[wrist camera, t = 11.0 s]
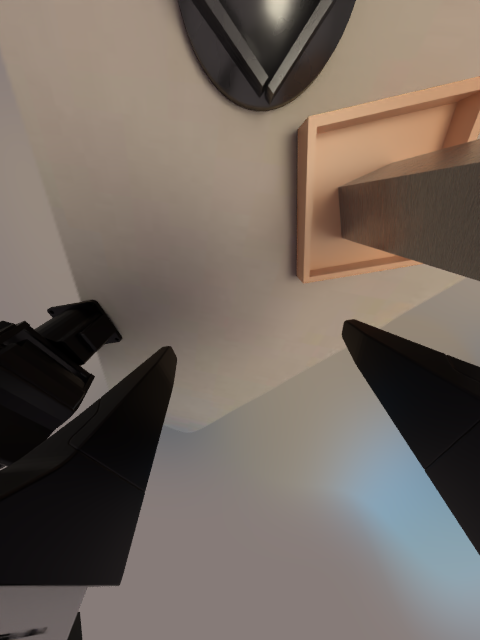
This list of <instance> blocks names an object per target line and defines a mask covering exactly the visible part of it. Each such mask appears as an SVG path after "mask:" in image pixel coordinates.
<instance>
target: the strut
mask: <svg viewBox="0 0 480 640" xmlns="http://www.w3.org/2000/svg"><path fill="white" fill-rule="evenodd" d="M338 193H339V207H340V221H341V235H342V238H343V239H346V240H349V241H353V242H356V243H359V244H362V245H365V246H369V247H372V248H375V249H378V250H382V251H385V252H388V253H391V254H394V255H398V256H401V257H404V258H407V259H410V260H414V261H417V262H420V263H423V264H427V265H430V266H433V267H436V268H439V269H443V270H446V271H449V272H452V273H455V274H459V275H462V276H465V277H468V278H472V279H475V280H478V281H480V139H478V140H474V141H470V142H467V143H463V144H459V145H456V146H452V147H448V148H445V149H441V150H437V151H434V152H430V153H426V154H423V155H419V156H415V157H411V158H408V159H404V160H400V161H397V162H393V163H391V164H389V165H386V166H384V167H382V168H380V169H377V170H375V171H373V172H371V173H369V174H366V175H364V176H362V177H360V178H357V179H355V180H353V181H351V182H348V183H346V184H344V185H342V186H340V187H338Z"/></svg>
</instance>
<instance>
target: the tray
mask: <svg viewBox="0 0 480 640" xmlns="http://www.w3.org/2000/svg"><path fill="white" fill-rule="evenodd" d="M479 132H480V76H479V77H475V78H470V79H466V80H462V81H458V82H453V83H449V84H445V85H441V86H436V87H432V88H428V89H423V90H419V91H415V92H411V93H406V94H402V95H398V96H394V97H389V98H385V99H381V100H377V101H372V102H368V103H364V104H360V105H355V106H351V107H347V108H343V109H338V110H334V111H330V112H326V113H321V114H317V115H313V116H309V117H308V118H307V119H306V120H305V121H304V123H303V124H302V125H301V126H300V128H299V129H298V163H297V277H298V278H299V279H300V280H301V281H302V282H303V283H309V282H316V281H322V280H328V279H334V278H340V277H346V276H352V275H358V274H364V273H370V272H376V271H382V270H388V269H395V268H401V267H407V266H413V265H419V264H423V263H420V262H417V261H414V260H410V259H407V258H404V257H401V256H398V255H394V254H391V253H388V252H385V251H382V250H378V249H375V248H372V247H369V246H365V245H362V244H359V243H356V242H353V241H349V240H346V239H343V238H342V235H341V221H340V207H339V193H338V187H340V186H342V185H344V184H346V183H348V182H351V181H353V180H355V179H357V178H360V177H362V176H364V175H366V174H369V173H371V172H373V171H375V170H377V169H380V168H382V167H384V166H386V165H389V164H391V163H393V162H397V161H400V160H404V159H408V158H411V157H415V156H419V155H423V154H426V153H430V152H434V151H437V150H441V149H445V148H448V147H452V146H456V145H459V144H463V143H467V142H470V141H474V140H477V137H478V135H479Z"/></svg>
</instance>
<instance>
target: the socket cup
mask: <svg viewBox="0 0 480 640" xmlns="http://www.w3.org/2000/svg"><path fill="white" fill-rule="evenodd" d="M355 1H356V0H178V2H179V6H180V10H181V14H182V18H183V21H184V25H185V28H186V31H187V34H188V37H189V40H190V42H191V45H192V47H193V49H194V52H195V54H196V56H197V58H198V60H199V62H200V64H201V66H202V68H203V70H204V71H205V73H206V74H207V76H208V77H209V79H210V80H211V82H212V83H213V84H214V85H215V86H216V87H217V89H218V90H219V91H220V92H221V93H222V94H223V95H225V96H226V97H227V98H228V99H229V100H231V101H232V102H234V103H235V104H237V105H239V106H241V107H244V108H246V109H250V110H255V111H267V110H273V109H277V108H279V107H282V106H284V105H286V104H288V103H290V102H291V101H293V100H294V99H296V98H297V97H298V96H299V95H301V94H302V93H303V92H304V91H305V90H306V89H307V88H308V87H309V86H310V85H311V84H312V83H313V81H314V80H315V79H316V77H317V76H318V75H319V74H320V72H321V71H322V69H323V68H324V66H325V64H326V63H327V61H328V60H329V58H330V57H331V55H332V53H333V52H334V50H335V48H336V46H337V44H338V42H339V40H340V39H341V37H342V35H343V32H344V30H345V28H346V25H347V23H348V21H349V18H350V16H351V13H352V10H353V7H354V4H355Z"/></svg>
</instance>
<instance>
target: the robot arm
mask: <svg viewBox="0 0 480 640" xmlns="http://www.w3.org/2000/svg"><path fill="white" fill-rule="evenodd" d="M93 304H94V305H93ZM47 311H48V313H49V314H50V315H51V316H52V317H53V318H52V319H50V320H49V321H47V322H46V323H44V324H42V325H41V326H39V327H38V328H36V329H33V328H31V327H30V325H29V324H28V323H27V322H26V321H23V322H21V323H18V324H16V325H15V324H14V323H9V322H5V321H1V322H0V469H1V468H3V467H5V466H8V467H6V468H4V469H2V470H0V640H82V631H81V621H80V620H81V619H80V612H78V610H79V608H80V605H81V603H82V600H83V597H84V595H85V592H86V590H87V587H99V586H119V585H120V583H121V580H122V576H123V573H124V569H125V566H126V562H127V558H128V554H129V550H130V547H131V543H132V539H133V536H134V532H135V528H136V524H137V521H138V517H139V513H140V510H141V506H142V502H143V498H144V495H145V490H146V487H147V482H148V479H149V475H150V472H151V468H152V464H153V460H154V457H155V453H156V449H157V445H158V441H159V438H160V434H161V430H162V427H163V423H164V419H165V415H166V412H167V408H168V404H169V400H170V397H171V393H172V389H173V384H174V378H175V371H176V365H177V357H176V355H175V353H174V351H173V349H172V347H171V346H166V347H162V348H161V349H159V350H158V351H157V352H156V353H155V354H153V355H152V356H151V357H150V358H148V359H147V360H146V361H145V362H144V363H142V364H141V365H140V366H139V367H137V368H136V369H135V370H134V371H133V372H131V373H130V374H129V375H128V376H126V377H125V378H124V379H123V380H122V381H120V382H119V383H118V384H117V385H115V386H114V387H113V388H112V389H111V390H109V391H108V392H107V393H106V394H105V395H103V396H102V397H101V399H98V400H97V401H96V402H95V403H93V405H91V406H90V407H89V408H87V409H86V410H85V411H84V412H82V413H81V414H80V415H79V416H77V417H76V418H75V419H73V420H72V421H71V422H69V423H68V424H67V425H65V426H64V427H63V428H61V429H60V430H59V431H57V432H56V433H55V434H53V435H52V436H51V437H49V436H50V435H51V434H52V432H53V431H54V430H55V429H56V428H58V427H59V426H60V425H62V424H63V423H64V422H65V421H66V420H68V419H69V418H70V417H71V416H72V415H73V414H74V412H75V411H76V410H77V409H78V408H79V406H80V404H81V403H82V401H83V398H84V397H85V395H86V393H87V391H88V389H89V387H90V385H91V383H92V381H93V379H94V377H95V376H94V375H92V374H90V373H88V372H87V371H86V370H85V369H83V368H82V367H81V365H83V364H85V363H86V362H87V361H88V360H89V358H90V357H91V356H92V355H93V354H94V353H95V352H97V351H98V350H99V349H100V348H101V347H102V346H103V345H104V344H108V343H115V342H120V341H121V340H122V337H121V335H120V334H119V332H118V331H117V330H116V328H115V327H114V325H113V324H112V322H111V321H110V320H109V318H108V317H107V315H106V314H105V312H104V311H103V309H102V308H101V307H100V305H99V304H98V302H96V301H94V300H90V301H84V302H79V303H73V304H67V305H62V306H56V307H51V308H49V309H48V310H47ZM342 338H343V340H344V342H345V344H346V346H347V348H348V350H349V352H350V354H351V356H352V358H353V360H354V362H355V364H356V365H357V367H358V369H359V370H360V372H361V373H362V374H363V376H364V378H365V379H366V381H367V382H368V384H369V385H370V387H371V388H372V390H373V392H374V393H375V394H376V396H377V398H378V399H379V401H380V402H381V404H382V405H383V407H384V409H385V410H386V412H387V413H388V415H389V416H390V418H391V419H392V421H393V422H394V424H395V425H396V427H397V428H398V430H399V431H400V433H401V435H402V436H403V438H404V439H405V441H406V442H407V444H408V445H409V447H410V449H411V450H412V451H413V453H414V455H415V456H416V458H417V459H418V461H419V462H420V464H421V465H422V467H423V468H424V469H425V472H426V473H427V475H428V477H429V478H430V480H431V481H432V483H433V484H434V486H435V487H436V489H437V490H438V492H439V493H440V495H441V497H442V498H443V500H444V501H445V503H446V504H447V506H448V507H449V509H450V510H451V512H452V513H453V515H454V516H455V518H456V519H457V521H458V523H459V524H460V526H461V527H462V529H463V530H464V532H465V533H466V535H467V536H468V538H469V540H470V541H471V543H472V544H473V546H474V547H475V549H476V550H477V552H478V553H479V555H480V367H478V366H475V365H473V364H470V363H467V362H465V361H462V360H459V359H457V358H454V357H451V356H449V355H445V354H444V353H441V352H438V351H436V350H433V349H430V348H428V347H425V346H423V345H420V344H418V343H415V342H412V341H410V340H407V339H404V338H402V337H399V336H397V335H394V334H391V333H389V332H386V331H383V330H381V329H378V328H376V327H373V326H370V325H368V324H365V323H363V322H360V321H357V320H355V319H352V320H346V321H345V322H344V325H343V330H342ZM48 437H49V438H48ZM47 438H48V439H47ZM46 439H47V440H46Z"/></svg>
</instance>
